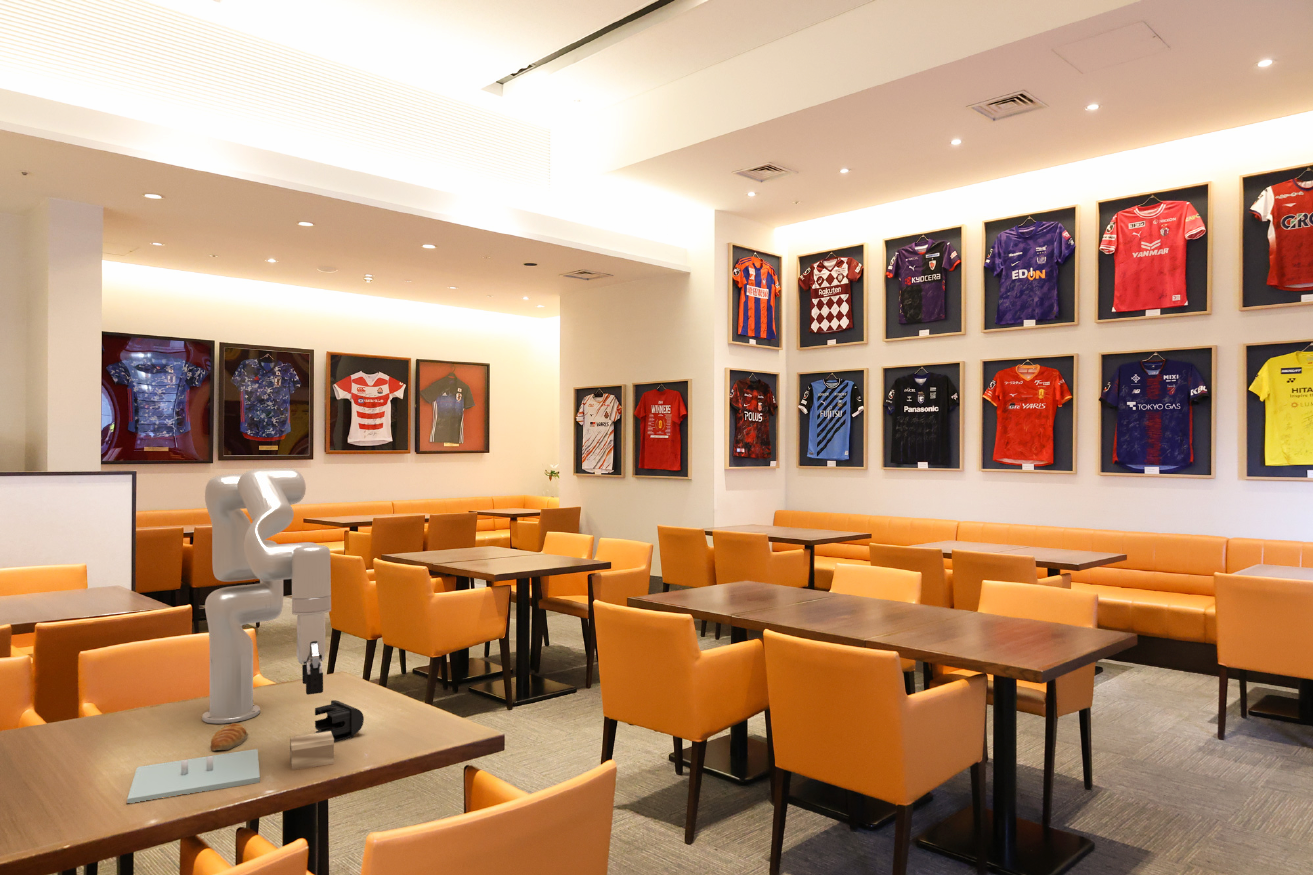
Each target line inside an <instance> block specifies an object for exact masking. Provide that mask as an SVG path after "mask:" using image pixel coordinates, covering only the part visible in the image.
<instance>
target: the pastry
mask: <svg viewBox="0 0 1313 875" xmlns="http://www.w3.org/2000/svg"><path fill="white" fill-rule="evenodd" d="M249 735H250V734H249V732H248V731H247V729H246V728H245V726H244V725H243V724H241V723H239V722H232V723H231V724H230V723H229V724H228V725H224V726H223V727H222V728H221V729H219V730H217V731H216V732H215V733H214V735H212V738H211V740H210V748H211V750H212V752H215V751H224V750H225V751H229V750H232V749H233V748H236V747H238V746H240V745H242V744H243V743H244V742H245V741H246V740H247V738H248V737H249Z"/></svg>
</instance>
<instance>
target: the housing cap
mask: <svg viewBox="0 0 1313 875" xmlns="http://www.w3.org/2000/svg"><path fill="white" fill-rule="evenodd" d="M289 762H290V763H291V771H296V770H302V769H309V768H313V767H321V766H326V765H333V764H335V742H334V738H333V735H332V733H331V731H328V732H321V733H316V732H314V733H309V734H301V735H296V736H289Z"/></svg>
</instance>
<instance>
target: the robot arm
mask: <svg viewBox="0 0 1313 875" xmlns="http://www.w3.org/2000/svg"><path fill="white" fill-rule="evenodd" d="M306 485H307V484H306V482H305V478H304V476H303V475H302V474H301V472H300V471H298V470H297V469H295V468H292V467H291V468H289V467H287V468H286V467H285V468H283V467H281V468H279V467H278V468H254V469H251V470H248V471H246V472H244V473H231V474H229V473H228V474H222V475H218V476H217V475H216V476H214V477H212V478H210V479H209V480H208V481H207V483H206V486H205V490H204V501H205V506H206V510H207V512H208V516H209V518H210V522H211V527H212V528H211V529H212V530H211V531H212V533H211V534H212V535H211V536H212V545H211V547H212V548H211V549H212V550H211V551H212V557H211V558H212V561H211V562H212V572H213V575H214V578H215V579H216V580H218V581H221V582H238V581H248V580H257V579H258V580H259V583H254V584H247V585H246V584H242V585H235V586H226V587H221V588H219V589H215V590H213V591H212V592H211V593H209V594H208V596H207V597H206V599H205V603H204V608H205V609H204V610H205V615H206V621H207V628H208V638H209V641H208V642H209V710H207V711H206V712H204V713H203V714H202V717H201V718H202V721H203V722H204V723H207V724H214V725H215V724H216V725H219V724H230V723H231V724H232V723H239V722H242V721H245V720H250V719H252V718H254V717H257V716H258V715H259V714H260V713H261V712H260V711H261V709H260V706H259V705H257V704H254V644H253V640H252V638H251V636H250V635H249V634H248V633H247V632H246V631H245V630H244V628H243V625H244V626H245V625H249V624H254V623H261V622H269V621H273V620H275V619H277V618H278V617H279V616H280V615H281V614H282V611H283V607H284V580H291V608H292V609H291V614H292V615H294V616H296V619H297V620H296V659H297V661H298V663H299V664H300V665H302V667H301V668H302V669H301V670H302V672H301V674H302V675H301V676H302V684H304V685H305V693H306V695H308V696H309V695H314V694H322V693H323V692H324V672H323V664H322V662H323V661H325V658H326V613H330V612H331V611H332V587H331V586H332V585H331V584H332V583H331V582H332V580H331V578H332V577H331V572H332V571H331V570H332V569H331V550H330V548H329V547H328V546H326V545H320V544H317V543H315V542H309V541H308V542H307V541H306V542H295V543H293V542H292V543H289V542H288V543H281V544H279V543H277V542H276V541H275V540H274V541H273V540H269V538H272V537H273V536H275V535H277V534H279V533H281V532H283V531H284V530H285V529H287V528H288V527H289V526H290V525H291V523H292V522H293V519H294V515H295V514H294V513H295V512H294V510H293V509H294V508H293V507H292V505H295V504H298V503H300V502H301V501H302V500H303V499H304V498H305V495H306V489H307V487H306ZM242 509H246V510H247V513H248V515H249V516H250V518H251V520H252V522H251V520H250V518H249V517H248V515H246V514H245V512H244V511H243V510H242Z"/></svg>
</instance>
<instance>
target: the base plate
mask: <svg viewBox="0 0 1313 875" xmlns="http://www.w3.org/2000/svg"><path fill="white" fill-rule="evenodd" d="M258 752H259V751H258V748H254V749H248V750H242V751H241V750H240V751H235V752H228V753H222V754H215V755H208V756H202V757H193V758H189V759H182V760H181V759H180V760H175V761H168V762H161V763H154V764H149V765H142V766H137V767H136V770H135V773H134V777H133V779H132V783H131V785H130V789H129V792H128V796H127V798H126V804H127V803H133V804H136V803H135V802H139V803H141V802H140V801H145V802H147V801H146V800H151V799H157V798H162V797H169V796H175V797H177V796H176V795H180V794H187V795H190V793H193V794H196V793H195V792H199V793H203V792H202V791H205V792H210V791H209V790H211V791H215V790H216V791H217V790H221V789H222V790H223V789H227V788H233V787H234V788H235V787H239V786H247V785H251V784H258V783H260V782H261V776H260V765H259V753H258ZM169 798H170V797H169ZM157 800H158V799H157ZM151 801H152V800H151Z"/></svg>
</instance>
